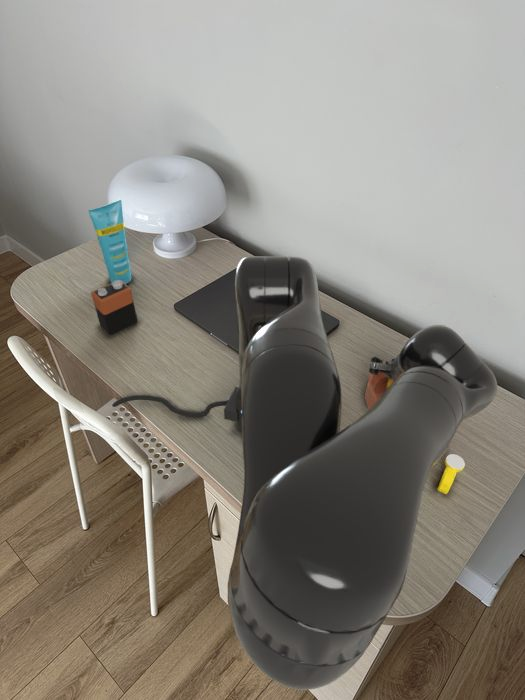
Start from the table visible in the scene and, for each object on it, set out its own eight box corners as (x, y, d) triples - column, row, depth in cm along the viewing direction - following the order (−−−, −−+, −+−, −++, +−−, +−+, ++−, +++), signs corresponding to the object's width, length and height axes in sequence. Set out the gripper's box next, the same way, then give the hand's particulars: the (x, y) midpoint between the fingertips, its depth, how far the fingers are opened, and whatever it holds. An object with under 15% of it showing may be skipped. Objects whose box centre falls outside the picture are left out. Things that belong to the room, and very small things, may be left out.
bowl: (359, 419, 86) (362, 402, 83) (370, 372, 94) (374, 355, 91) (429, 437, 83) (436, 421, 80) (435, 387, 92) (441, 370, 89)
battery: (138, 322, 104) (130, 284, 97) (110, 336, 101) (99, 298, 94) (128, 313, 107) (119, 275, 100) (99, 326, 103) (88, 287, 96)
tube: (113, 290, 112) (94, 214, 99) (102, 281, 115) (82, 205, 102) (140, 277, 116) (125, 202, 103) (129, 269, 119) (113, 194, 106)
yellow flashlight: (448, 502, 74) (459, 481, 70) (430, 494, 76) (440, 473, 71) (458, 473, 78) (469, 451, 74) (441, 465, 79) (451, 444, 75)
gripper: (365, 389, 70) (360, 385, 87) (469, 408, 68) (444, 401, 85) (375, 337, 70) (368, 344, 87) (479, 355, 68) (451, 358, 85)
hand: (405, 372), depth 86 cm, fingers closed on supplement bottle, 5 cm apart
